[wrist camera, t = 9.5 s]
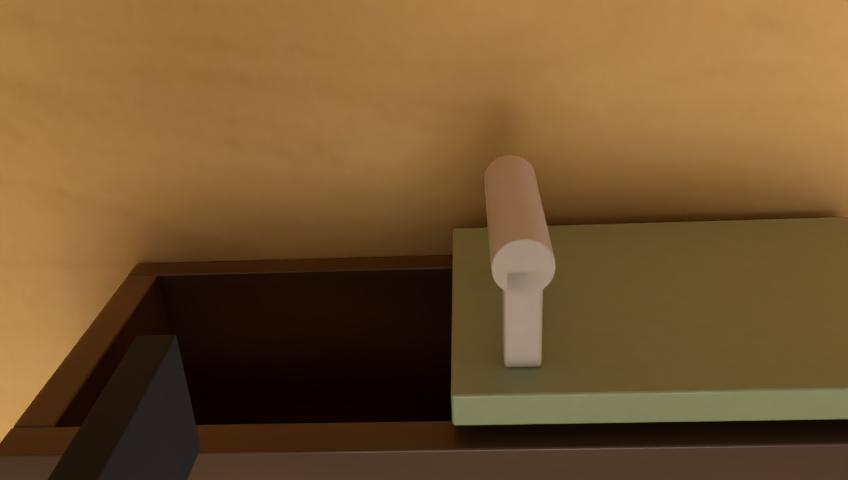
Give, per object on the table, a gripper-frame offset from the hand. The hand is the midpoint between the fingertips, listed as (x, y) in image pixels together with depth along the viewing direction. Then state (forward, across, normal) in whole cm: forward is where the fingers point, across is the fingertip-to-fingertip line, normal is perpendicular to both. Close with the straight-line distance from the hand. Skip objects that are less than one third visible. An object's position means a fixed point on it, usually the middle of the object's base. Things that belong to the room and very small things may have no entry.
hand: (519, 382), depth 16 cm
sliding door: (+14, +6, -2) cm, 15 cm away
